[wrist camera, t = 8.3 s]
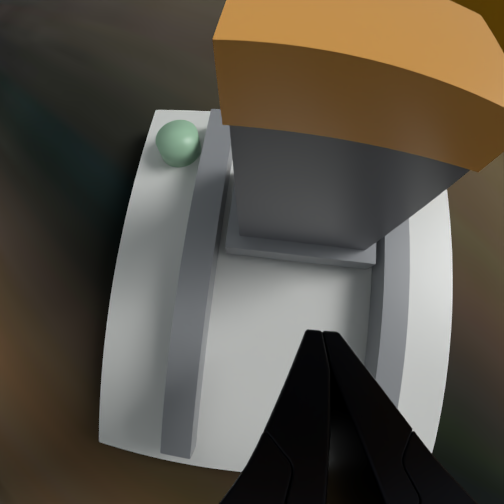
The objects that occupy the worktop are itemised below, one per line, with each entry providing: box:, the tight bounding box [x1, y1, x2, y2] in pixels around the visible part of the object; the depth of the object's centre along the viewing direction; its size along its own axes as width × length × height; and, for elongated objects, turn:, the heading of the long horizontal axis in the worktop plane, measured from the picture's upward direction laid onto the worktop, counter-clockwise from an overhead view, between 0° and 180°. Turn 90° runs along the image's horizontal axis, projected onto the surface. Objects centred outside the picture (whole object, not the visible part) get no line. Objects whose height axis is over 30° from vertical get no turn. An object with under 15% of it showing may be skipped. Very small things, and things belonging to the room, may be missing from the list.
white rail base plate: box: [99, 109, 452, 472], centre depth 14 cm, size 17×16×4 cm
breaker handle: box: [213, 0, 504, 269], centre depth 9 cm, size 4×6×10 cm, turn 84°
